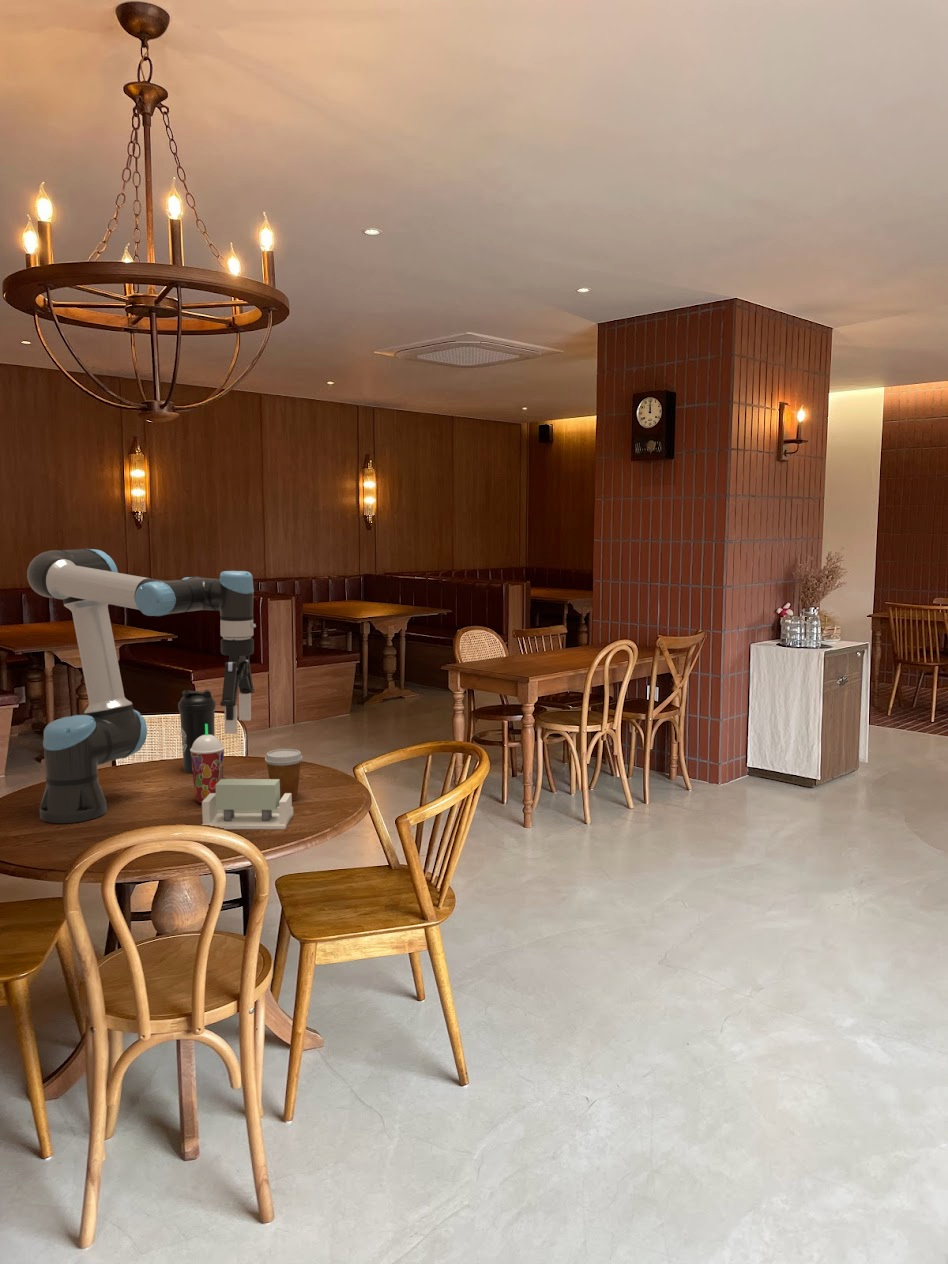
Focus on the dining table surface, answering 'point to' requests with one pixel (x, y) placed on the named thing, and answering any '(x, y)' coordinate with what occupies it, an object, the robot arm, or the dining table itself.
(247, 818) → the peg cradle
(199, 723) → the water bottle
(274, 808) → the shelf block
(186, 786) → the dining table surface
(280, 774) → the disposable coffee cup
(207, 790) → the smoothie
